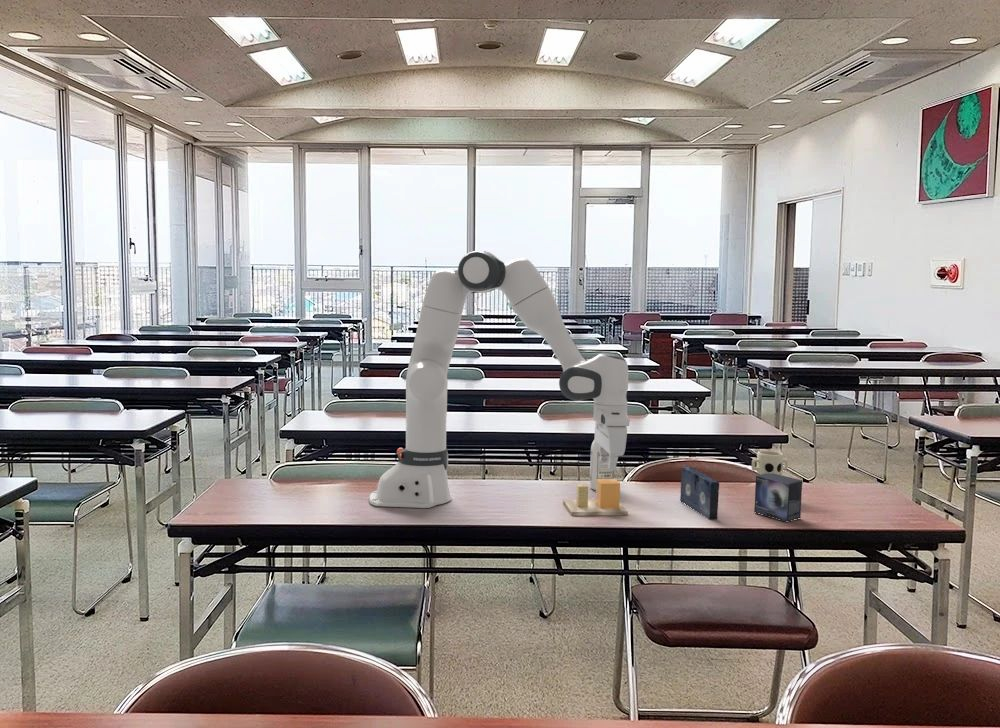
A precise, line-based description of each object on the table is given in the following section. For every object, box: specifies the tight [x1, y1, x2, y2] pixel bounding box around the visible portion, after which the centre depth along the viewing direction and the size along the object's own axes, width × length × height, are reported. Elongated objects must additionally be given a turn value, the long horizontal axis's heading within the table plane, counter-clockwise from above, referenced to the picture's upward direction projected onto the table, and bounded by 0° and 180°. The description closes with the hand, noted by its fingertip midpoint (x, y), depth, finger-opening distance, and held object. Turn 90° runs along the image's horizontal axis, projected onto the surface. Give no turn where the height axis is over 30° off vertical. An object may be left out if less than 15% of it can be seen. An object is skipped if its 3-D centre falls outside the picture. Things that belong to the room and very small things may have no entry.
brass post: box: [575, 483, 589, 507], centre depth 227 cm, size 3×3×6 cm
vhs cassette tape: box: [679, 466, 720, 520], centre depth 229 cm, size 18×3×10 cm, turn 11°
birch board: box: [562, 499, 629, 517], centre depth 228 cm, size 15×12×1 cm
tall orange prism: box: [595, 478, 621, 508], centre depth 228 cm, size 5×5×7 cm
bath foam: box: [589, 438, 615, 491], centre depth 250 cm, size 7×7×20 cm
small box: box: [753, 473, 803, 522], centre depth 224 cm, size 11×6×10 cm, turn 36°
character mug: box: [751, 449, 789, 475], centre depth 243 cm, size 11×7×13 cm, turn 99°
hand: (607, 465), depth 227 cm, fingers open, 8 cm apart
